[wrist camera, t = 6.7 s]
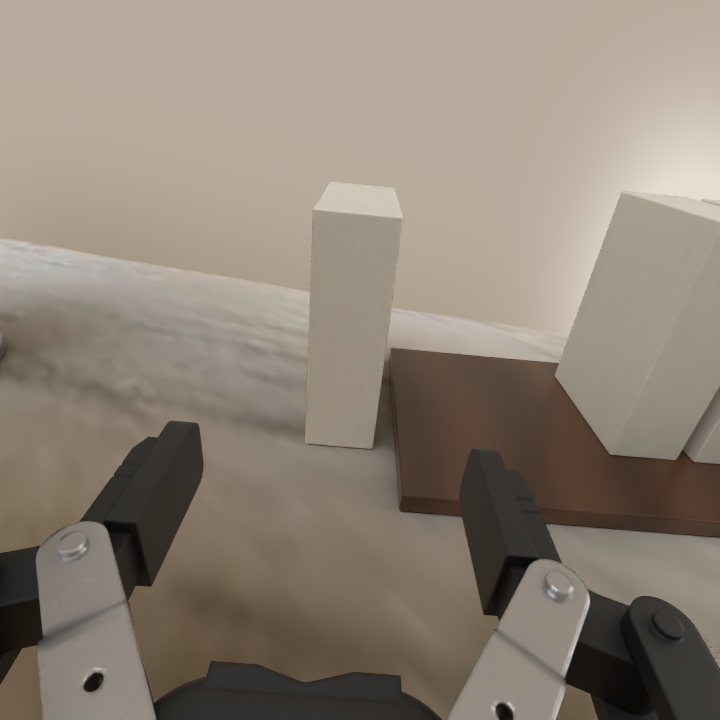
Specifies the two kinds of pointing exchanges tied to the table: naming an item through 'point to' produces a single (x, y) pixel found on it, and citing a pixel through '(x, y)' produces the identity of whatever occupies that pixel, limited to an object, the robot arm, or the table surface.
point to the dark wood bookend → (532, 448)
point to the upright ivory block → (350, 311)
